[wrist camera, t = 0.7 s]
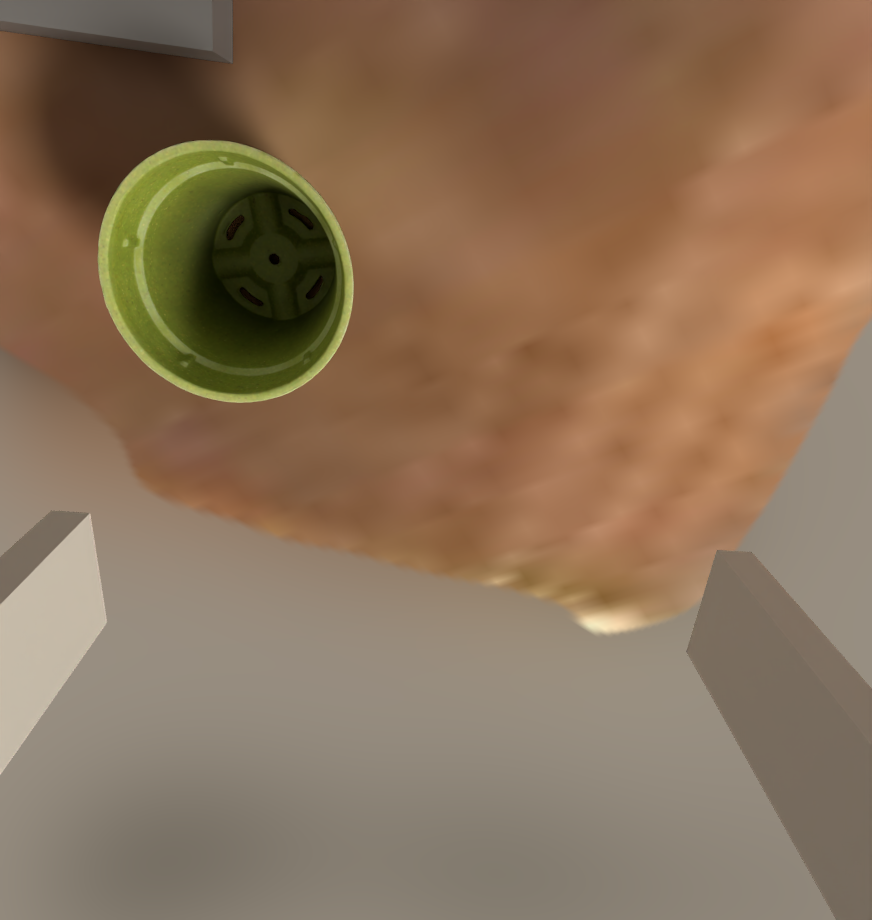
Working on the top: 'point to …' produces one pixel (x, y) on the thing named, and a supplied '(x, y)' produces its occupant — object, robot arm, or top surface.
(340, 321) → the plant pot
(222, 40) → the board
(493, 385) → the top surface
